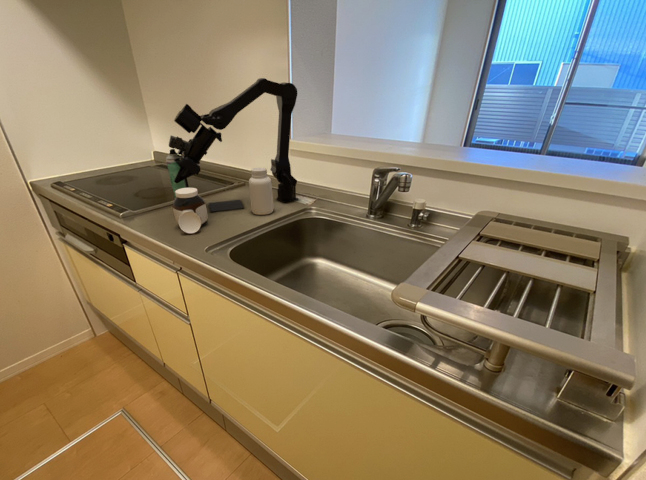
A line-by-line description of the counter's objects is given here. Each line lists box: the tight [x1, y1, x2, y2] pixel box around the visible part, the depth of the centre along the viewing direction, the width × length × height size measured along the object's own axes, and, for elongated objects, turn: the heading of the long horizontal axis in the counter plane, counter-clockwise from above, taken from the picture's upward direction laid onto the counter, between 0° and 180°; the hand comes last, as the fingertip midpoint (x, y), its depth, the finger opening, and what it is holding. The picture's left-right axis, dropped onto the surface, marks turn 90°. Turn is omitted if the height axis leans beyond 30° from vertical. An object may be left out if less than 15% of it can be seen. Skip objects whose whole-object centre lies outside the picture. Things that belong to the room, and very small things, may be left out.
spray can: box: [165, 148, 190, 199], centre depth 119 cm, size 6×6×20 cm
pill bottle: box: [248, 167, 274, 216], centre depth 121 cm, size 8×8×15 cm
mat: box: [208, 199, 245, 213], centre depth 130 cm, size 12×10×1 cm
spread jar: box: [172, 187, 208, 234], centre depth 110 cm, size 12×11×12 cm
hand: (174, 180), depth 118 cm, fingers closed on spray can, 5 cm apart
